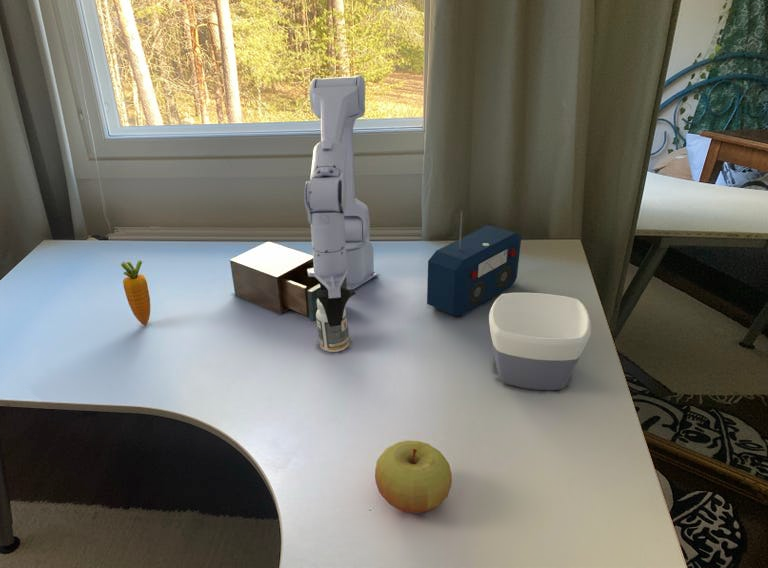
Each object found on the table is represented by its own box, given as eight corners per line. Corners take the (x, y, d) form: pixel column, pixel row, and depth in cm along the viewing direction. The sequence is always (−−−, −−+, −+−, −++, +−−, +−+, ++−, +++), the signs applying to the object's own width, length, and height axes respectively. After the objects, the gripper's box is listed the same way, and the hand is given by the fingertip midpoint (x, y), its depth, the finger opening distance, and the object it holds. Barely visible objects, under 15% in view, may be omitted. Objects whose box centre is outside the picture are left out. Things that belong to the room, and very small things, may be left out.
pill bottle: (354, 339, 119) (350, 293, 114) (342, 355, 115) (337, 309, 110) (327, 334, 121) (322, 289, 116) (314, 350, 117) (308, 305, 112)
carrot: (159, 318, 133) (145, 254, 125) (153, 331, 129) (137, 265, 121) (137, 319, 134) (121, 255, 126) (130, 331, 129) (113, 266, 122)
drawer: (363, 307, 128) (362, 277, 124) (329, 328, 122) (327, 298, 118) (300, 284, 139) (298, 256, 135) (267, 302, 133) (263, 274, 129)
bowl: (583, 404, 97) (595, 344, 92) (481, 392, 102) (486, 334, 97) (578, 350, 110) (588, 295, 104) (487, 341, 115) (492, 288, 109)
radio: (458, 323, 121) (464, 226, 110) (423, 308, 127) (425, 215, 117) (522, 285, 131) (532, 193, 121) (486, 273, 137) (494, 184, 127)
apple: (436, 466, 89) (438, 422, 85) (460, 518, 81) (464, 473, 77) (368, 476, 88) (367, 433, 84) (386, 530, 80) (385, 485, 76)
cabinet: (318, 292, 137) (315, 256, 132) (280, 314, 130) (276, 277, 126) (272, 275, 146) (268, 241, 141) (234, 294, 139) (229, 259, 135)
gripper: (303, 231, 114) (308, 297, 121) (308, 266, 101) (314, 336, 108) (341, 228, 114) (345, 293, 121) (351, 262, 101) (354, 333, 108)
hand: (332, 314), depth 115 cm, fingers open, 7 cm apart
